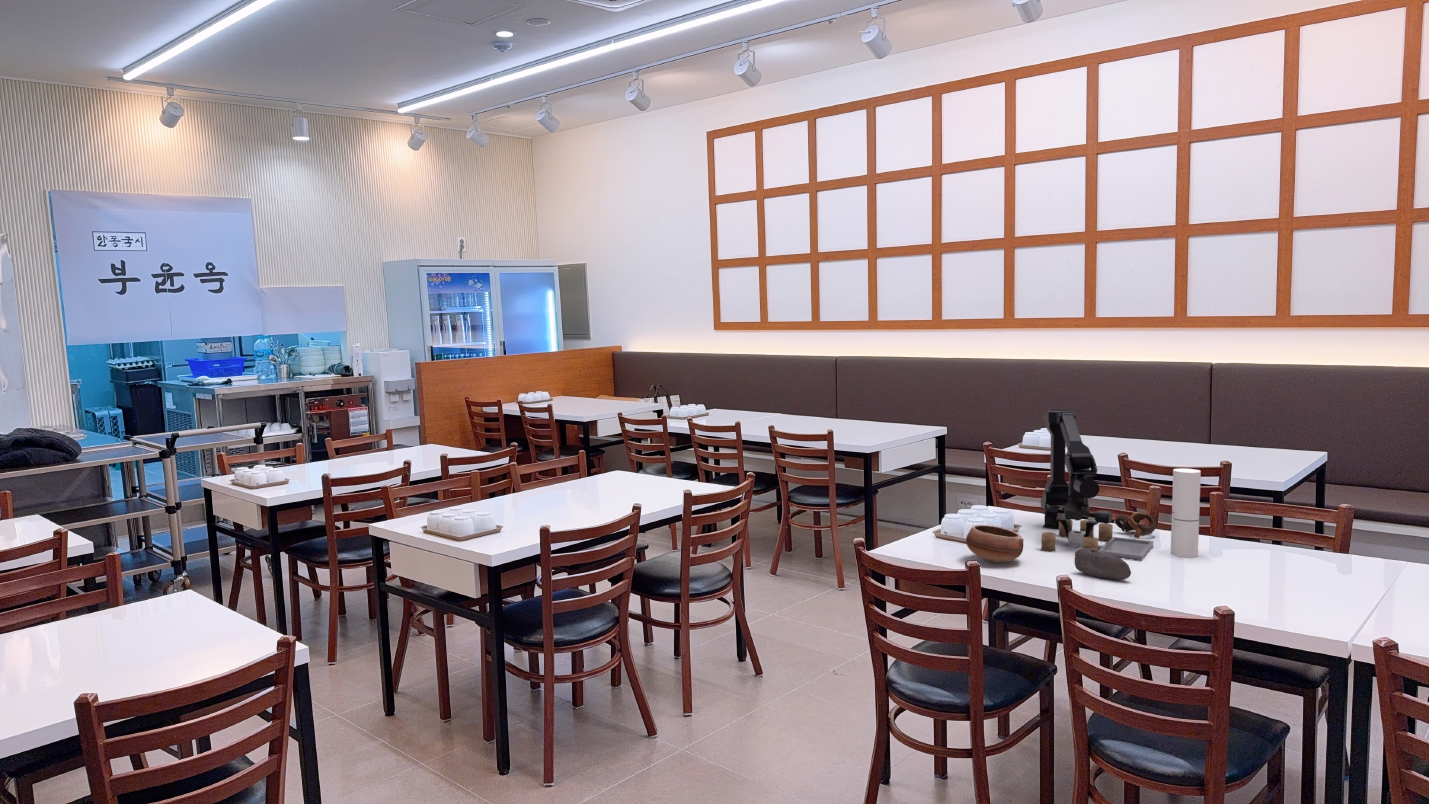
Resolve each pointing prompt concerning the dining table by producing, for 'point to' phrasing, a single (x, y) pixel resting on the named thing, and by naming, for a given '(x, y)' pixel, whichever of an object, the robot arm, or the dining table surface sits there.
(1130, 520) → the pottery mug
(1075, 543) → the steel nut
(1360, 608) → the dining table surface
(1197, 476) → the cylindrical container
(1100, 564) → the perforated stone tool
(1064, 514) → the robot arm
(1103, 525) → the posts
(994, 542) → the bowl
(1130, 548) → the slate tray
